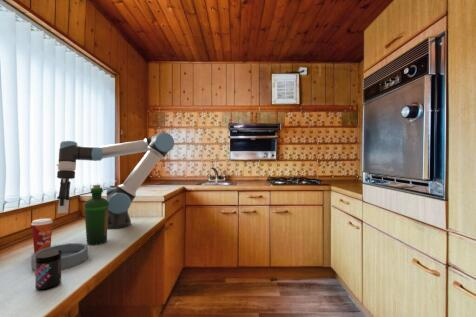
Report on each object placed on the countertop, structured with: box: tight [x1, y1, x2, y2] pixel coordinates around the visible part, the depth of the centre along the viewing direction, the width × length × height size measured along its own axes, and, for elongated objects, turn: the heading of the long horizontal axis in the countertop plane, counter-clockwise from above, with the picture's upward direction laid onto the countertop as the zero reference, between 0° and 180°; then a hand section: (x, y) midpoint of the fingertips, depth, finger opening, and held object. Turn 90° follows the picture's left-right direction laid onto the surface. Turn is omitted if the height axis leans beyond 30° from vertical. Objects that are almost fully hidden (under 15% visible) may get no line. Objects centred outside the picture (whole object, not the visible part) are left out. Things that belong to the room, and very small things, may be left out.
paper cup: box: [30, 217, 54, 253], centre depth 110 cm, size 8×8×14 cm
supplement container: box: [34, 250, 62, 292], centre depth 80 cm, size 7×7×10 cm
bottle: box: [83, 184, 109, 246], centre depth 122 cm, size 11×11×28 cm
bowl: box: [30, 242, 89, 272], centre depth 99 cm, size 18×18×4 cm
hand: (63, 212), depth 124 cm, fingers open, 13 cm apart
